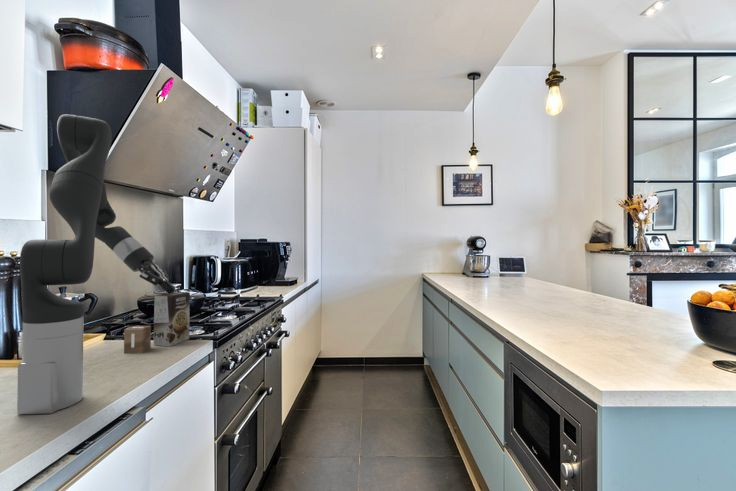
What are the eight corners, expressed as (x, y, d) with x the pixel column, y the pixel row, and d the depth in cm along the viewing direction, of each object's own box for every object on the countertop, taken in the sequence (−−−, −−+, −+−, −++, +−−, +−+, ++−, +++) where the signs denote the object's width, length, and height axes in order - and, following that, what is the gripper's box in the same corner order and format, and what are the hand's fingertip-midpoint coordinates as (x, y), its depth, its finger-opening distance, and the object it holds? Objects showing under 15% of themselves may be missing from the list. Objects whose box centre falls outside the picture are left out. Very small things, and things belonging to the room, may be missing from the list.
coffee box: (170, 346, 111) (170, 295, 111) (152, 345, 112) (153, 295, 112) (190, 339, 120) (190, 292, 120) (173, 338, 121) (174, 291, 121)
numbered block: (141, 353, 104) (141, 329, 104) (123, 353, 104) (124, 329, 104) (150, 348, 109) (150, 325, 109) (133, 348, 109) (133, 325, 109)
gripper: (130, 246, 109) (171, 285, 110) (152, 246, 122) (189, 281, 123) (112, 263, 108) (153, 302, 109) (136, 261, 121) (173, 296, 122)
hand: (172, 291), depth 116 cm, fingers closed
